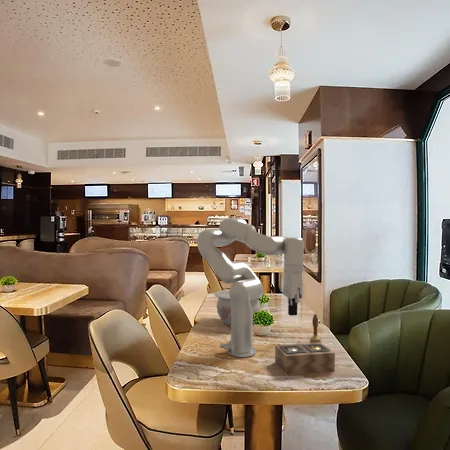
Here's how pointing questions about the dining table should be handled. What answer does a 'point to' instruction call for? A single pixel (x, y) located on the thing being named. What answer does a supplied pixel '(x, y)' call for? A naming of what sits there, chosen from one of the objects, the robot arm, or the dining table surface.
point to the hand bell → (315, 331)
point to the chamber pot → (225, 305)
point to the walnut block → (304, 358)
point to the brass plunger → (315, 348)
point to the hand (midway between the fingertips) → (292, 314)
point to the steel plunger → (292, 350)
